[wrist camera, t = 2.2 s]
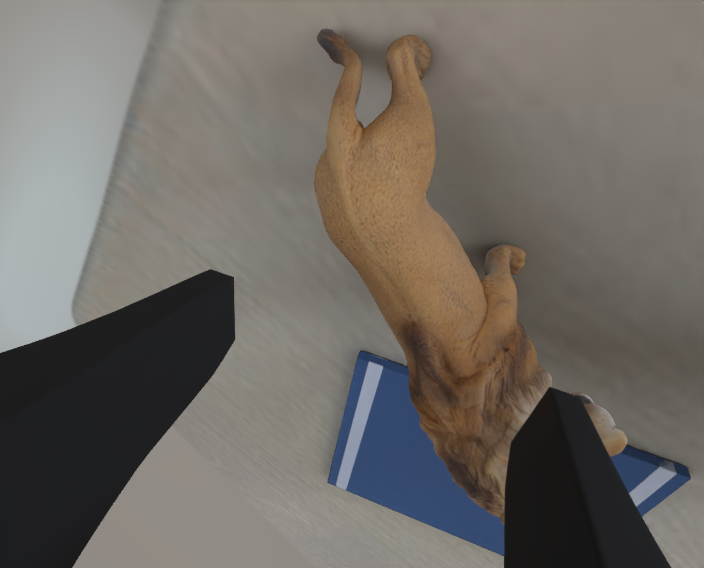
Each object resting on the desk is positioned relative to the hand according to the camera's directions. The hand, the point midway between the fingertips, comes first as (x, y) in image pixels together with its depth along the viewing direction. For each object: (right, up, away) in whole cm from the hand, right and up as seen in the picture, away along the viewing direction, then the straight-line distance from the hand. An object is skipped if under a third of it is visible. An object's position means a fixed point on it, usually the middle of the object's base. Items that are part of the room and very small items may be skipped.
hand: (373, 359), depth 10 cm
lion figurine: (+4, +5, +7) cm, 9 cm away
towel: (+6, -9, +15) cm, 19 cm away
